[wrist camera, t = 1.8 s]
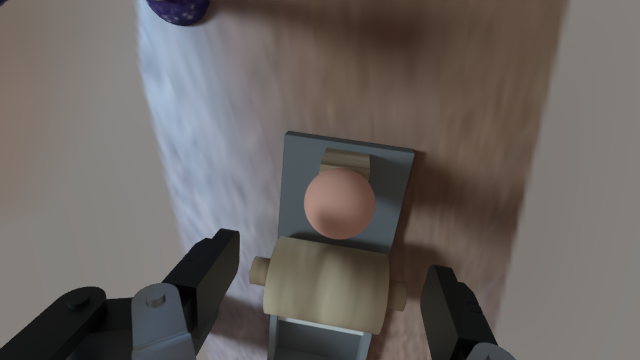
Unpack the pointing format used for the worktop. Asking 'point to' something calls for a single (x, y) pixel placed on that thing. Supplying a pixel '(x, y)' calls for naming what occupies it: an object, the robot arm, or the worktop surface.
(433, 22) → the worktop surface
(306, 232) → the grey long tray
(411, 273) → the worktop surface
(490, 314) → the worktop surface
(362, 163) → the light wooden block
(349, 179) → the ball
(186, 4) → the toy lamp
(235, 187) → the worktop surface
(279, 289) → the maple rolling pin
